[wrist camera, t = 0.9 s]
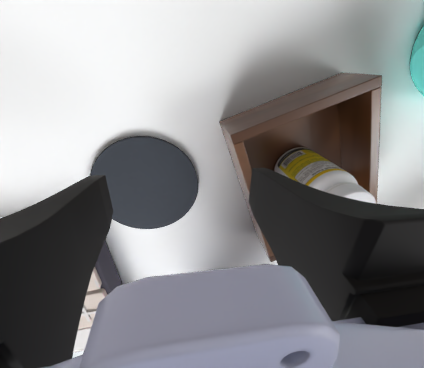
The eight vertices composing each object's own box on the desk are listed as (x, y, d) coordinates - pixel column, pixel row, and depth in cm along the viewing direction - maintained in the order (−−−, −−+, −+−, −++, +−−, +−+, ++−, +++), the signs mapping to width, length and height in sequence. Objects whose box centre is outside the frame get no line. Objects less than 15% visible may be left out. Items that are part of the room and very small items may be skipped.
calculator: (88, 249, 20) (130, 346, 27) (101, 221, 24) (136, 312, 31) (-47, 272, 19) (32, 368, 26) (-10, 239, 23) (50, 330, 30)
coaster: (211, 206, 25) (211, 208, 24) (126, 239, 25) (125, 241, 24) (172, 118, 20) (173, 119, 19) (67, 161, 20) (65, 162, 20)
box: (347, 200, 27) (376, 222, 23) (256, 234, 28) (270, 262, 24) (342, 72, 20) (382, 75, 16) (219, 121, 20) (230, 135, 16)
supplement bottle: (306, 190, 25) (361, 243, 18) (266, 186, 24) (308, 241, 17) (323, 148, 23) (395, 189, 16) (281, 142, 22) (336, 183, 14)
